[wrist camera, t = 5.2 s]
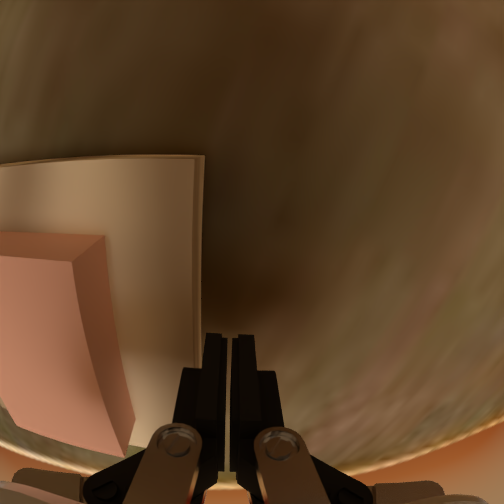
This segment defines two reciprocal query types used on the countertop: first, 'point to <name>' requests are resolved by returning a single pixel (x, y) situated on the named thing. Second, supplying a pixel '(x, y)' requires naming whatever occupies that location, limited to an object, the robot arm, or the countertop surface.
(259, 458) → the robot arm
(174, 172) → the plate
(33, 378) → the salmon pink rectangular block
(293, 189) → the countertop surface
